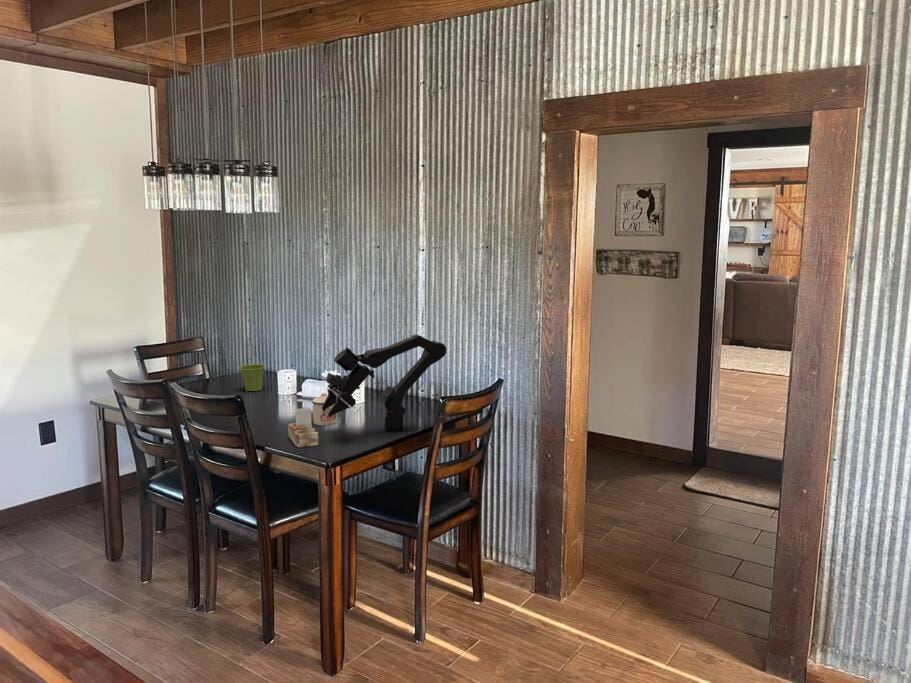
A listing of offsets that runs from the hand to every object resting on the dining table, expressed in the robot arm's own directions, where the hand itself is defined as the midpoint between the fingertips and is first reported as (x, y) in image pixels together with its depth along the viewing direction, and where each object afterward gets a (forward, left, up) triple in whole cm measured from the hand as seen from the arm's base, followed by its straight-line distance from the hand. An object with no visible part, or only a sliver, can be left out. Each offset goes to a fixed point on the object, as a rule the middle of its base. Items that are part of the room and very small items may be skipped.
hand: (325, 412), depth 258 cm
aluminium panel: (+8, +3, -8) cm, 11 cm away
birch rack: (+8, +3, -9) cm, 13 cm away
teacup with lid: (+2, -21, -9) cm, 23 cm away
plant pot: (+42, -78, -9) cm, 89 cm away
